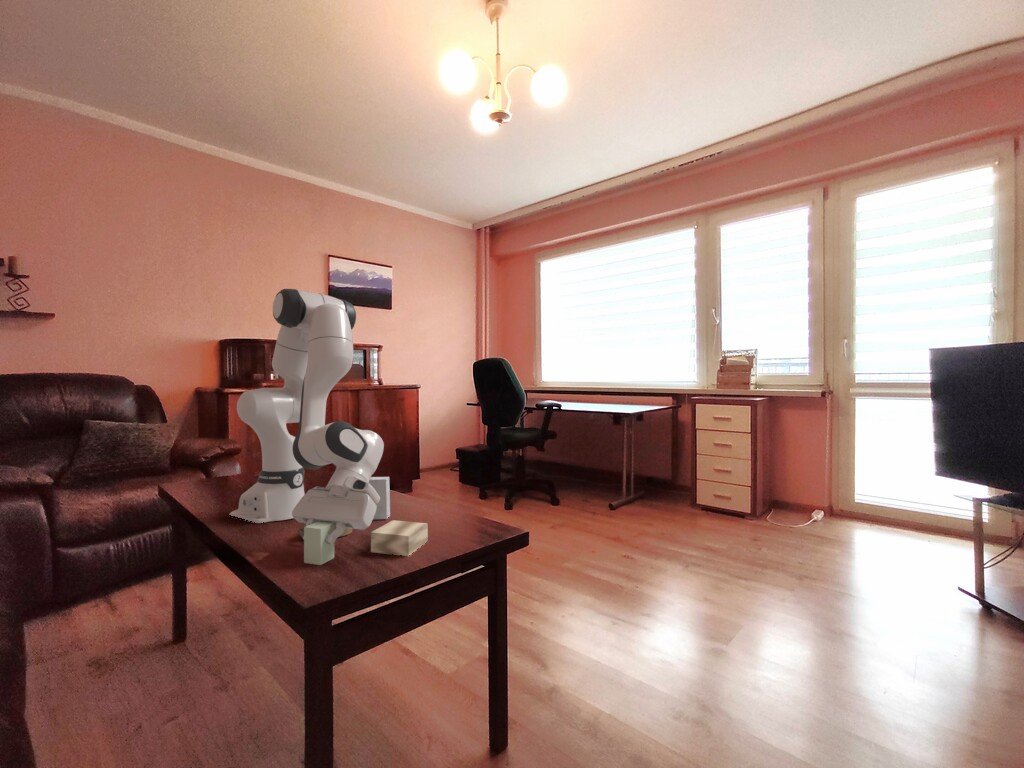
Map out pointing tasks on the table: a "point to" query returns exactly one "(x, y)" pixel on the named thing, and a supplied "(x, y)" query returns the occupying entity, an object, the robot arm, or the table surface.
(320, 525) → the sage block
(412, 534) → the birch block
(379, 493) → the skincare box
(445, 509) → the table surface
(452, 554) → the table surface
